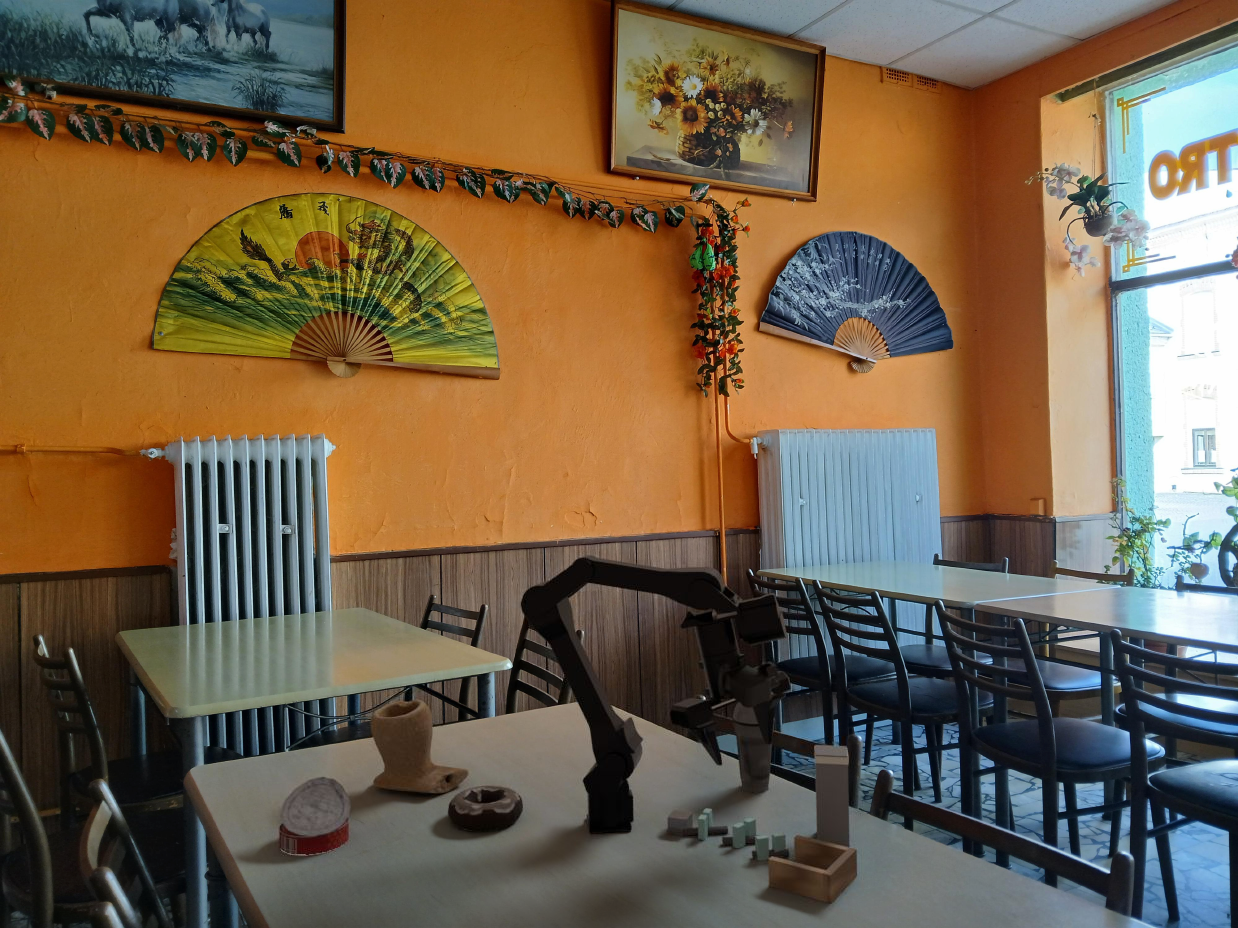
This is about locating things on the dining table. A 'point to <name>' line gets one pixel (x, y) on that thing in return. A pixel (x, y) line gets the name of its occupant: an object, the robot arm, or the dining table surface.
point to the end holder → (815, 869)
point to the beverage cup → (751, 750)
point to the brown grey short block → (679, 822)
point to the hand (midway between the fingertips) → (744, 754)
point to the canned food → (315, 817)
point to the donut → (485, 808)
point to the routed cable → (730, 839)
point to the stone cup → (410, 750)
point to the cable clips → (741, 832)
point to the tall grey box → (832, 794)
